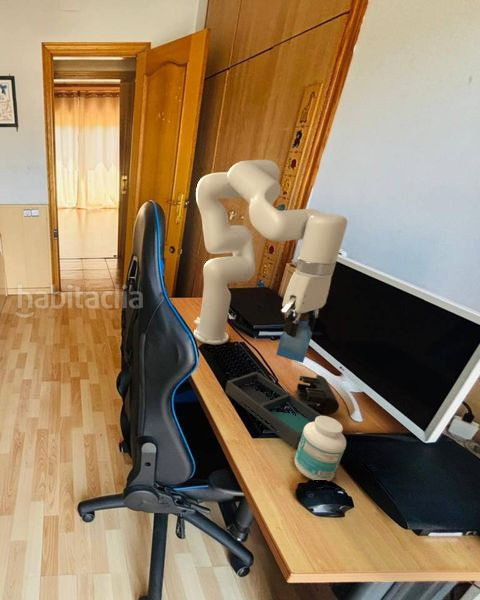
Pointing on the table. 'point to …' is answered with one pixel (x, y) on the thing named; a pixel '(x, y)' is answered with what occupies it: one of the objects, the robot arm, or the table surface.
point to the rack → (260, 404)
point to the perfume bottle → (296, 341)
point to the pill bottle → (320, 448)
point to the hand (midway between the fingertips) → (297, 331)
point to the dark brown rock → (317, 395)
